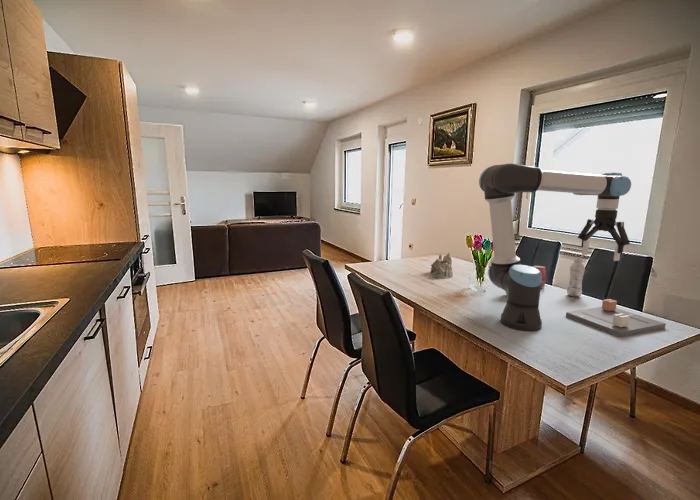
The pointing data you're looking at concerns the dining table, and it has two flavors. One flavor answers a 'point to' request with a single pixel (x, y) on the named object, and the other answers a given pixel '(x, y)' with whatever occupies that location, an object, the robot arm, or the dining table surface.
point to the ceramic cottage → (442, 267)
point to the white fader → (621, 320)
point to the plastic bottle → (576, 278)
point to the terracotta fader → (609, 304)
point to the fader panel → (605, 319)
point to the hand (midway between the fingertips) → (599, 257)
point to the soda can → (543, 272)
